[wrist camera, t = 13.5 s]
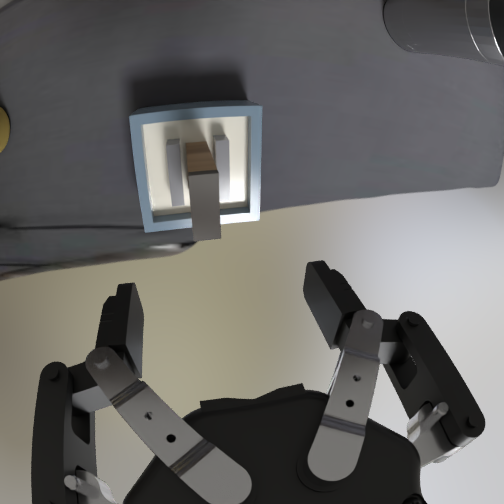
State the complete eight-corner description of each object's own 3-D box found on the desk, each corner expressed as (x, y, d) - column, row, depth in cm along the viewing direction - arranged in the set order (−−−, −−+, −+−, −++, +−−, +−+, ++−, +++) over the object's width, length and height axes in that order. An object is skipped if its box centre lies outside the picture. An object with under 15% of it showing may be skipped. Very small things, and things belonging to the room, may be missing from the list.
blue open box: (139, 108, 28) (127, 117, 22) (247, 100, 30) (265, 106, 24) (150, 206, 35) (144, 237, 29) (246, 196, 37) (261, 224, 31)
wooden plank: (185, 142, 27) (188, 175, 19) (206, 141, 27) (218, 173, 19) (188, 190, 30) (193, 241, 21) (208, 188, 30) (221, 238, 22)
